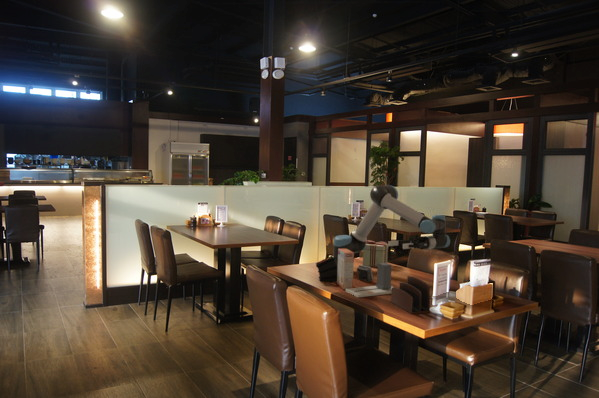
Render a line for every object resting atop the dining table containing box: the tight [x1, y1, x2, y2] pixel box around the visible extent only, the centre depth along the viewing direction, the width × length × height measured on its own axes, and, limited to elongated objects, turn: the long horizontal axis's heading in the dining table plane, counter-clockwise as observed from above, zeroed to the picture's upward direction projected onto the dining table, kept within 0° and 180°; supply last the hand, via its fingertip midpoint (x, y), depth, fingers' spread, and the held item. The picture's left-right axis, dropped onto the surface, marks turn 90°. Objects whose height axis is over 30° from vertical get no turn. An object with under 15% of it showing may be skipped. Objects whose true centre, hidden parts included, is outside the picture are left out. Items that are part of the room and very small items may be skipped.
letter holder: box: [390, 275, 431, 315], centre depth 212 cm, size 10×20×14 cm, turn 17°
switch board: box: [345, 285, 393, 298], centre depth 237 cm, size 28×12×2 cm, turn 116°
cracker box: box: [336, 249, 355, 291], centre depth 247 cm, size 14×6×21 cm, turn 9°
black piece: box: [315, 255, 337, 283], centre depth 259 cm, size 4×13×15 cm, turn 99°
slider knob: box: [375, 262, 392, 289], centre depth 240 cm, size 6×6×13 cm
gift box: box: [362, 239, 389, 268], centre depth 310 cm, size 17×18×17 cm
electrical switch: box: [356, 264, 374, 283], centre depth 262 cm, size 9×5×9 cm, turn 44°
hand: (395, 245), depth 243 cm, fingers open, 13 cm apart
